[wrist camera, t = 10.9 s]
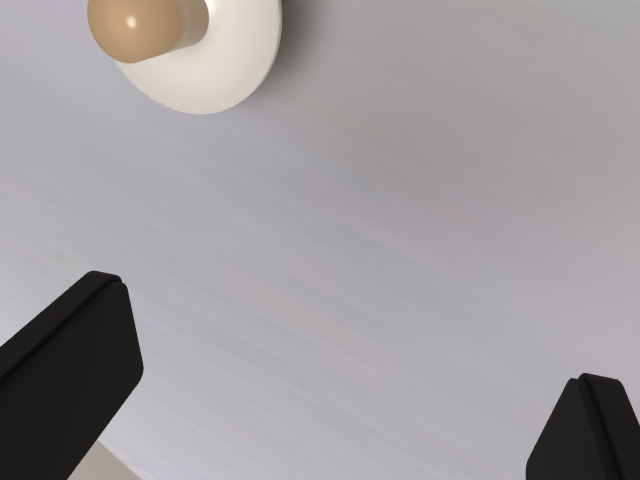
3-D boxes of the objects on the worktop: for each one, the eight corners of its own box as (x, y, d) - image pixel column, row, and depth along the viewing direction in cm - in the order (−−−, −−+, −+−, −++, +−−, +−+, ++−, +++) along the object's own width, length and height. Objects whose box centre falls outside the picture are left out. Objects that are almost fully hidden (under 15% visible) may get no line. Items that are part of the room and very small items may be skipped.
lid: (282, -107, 24) (229, -130, 18) (281, 119, 30) (241, 157, 24) (80, -114, 26) (-26, -137, 20) (119, 100, 32) (46, 129, 26)
